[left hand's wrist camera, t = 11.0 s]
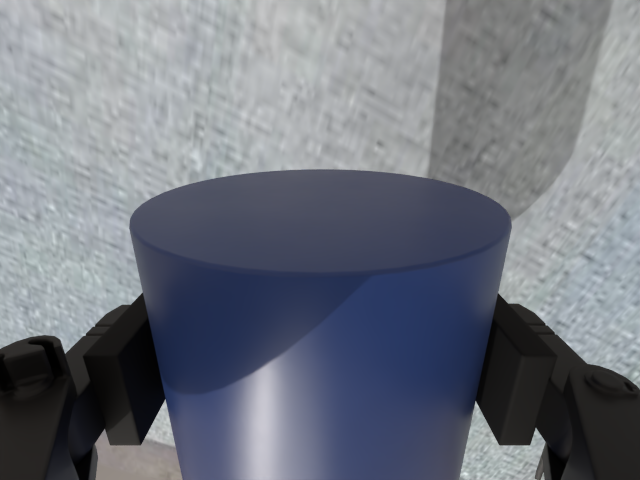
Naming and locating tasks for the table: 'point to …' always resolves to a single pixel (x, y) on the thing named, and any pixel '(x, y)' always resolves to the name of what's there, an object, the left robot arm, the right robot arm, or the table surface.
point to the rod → (320, 321)
